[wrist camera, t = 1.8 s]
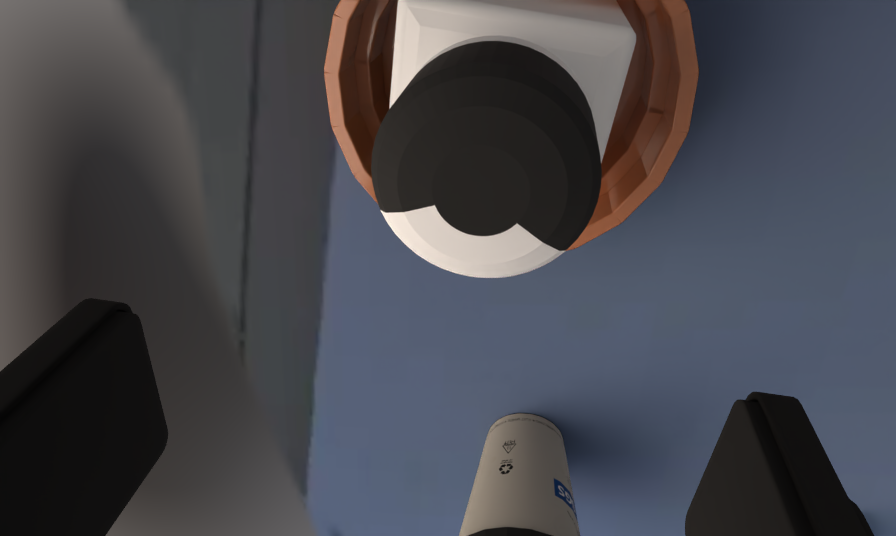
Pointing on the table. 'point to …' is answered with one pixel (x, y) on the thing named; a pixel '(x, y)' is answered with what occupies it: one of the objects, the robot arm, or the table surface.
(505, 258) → the medicine bottle
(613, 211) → the bowl
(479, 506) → the coffee cup
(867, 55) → the table surface
